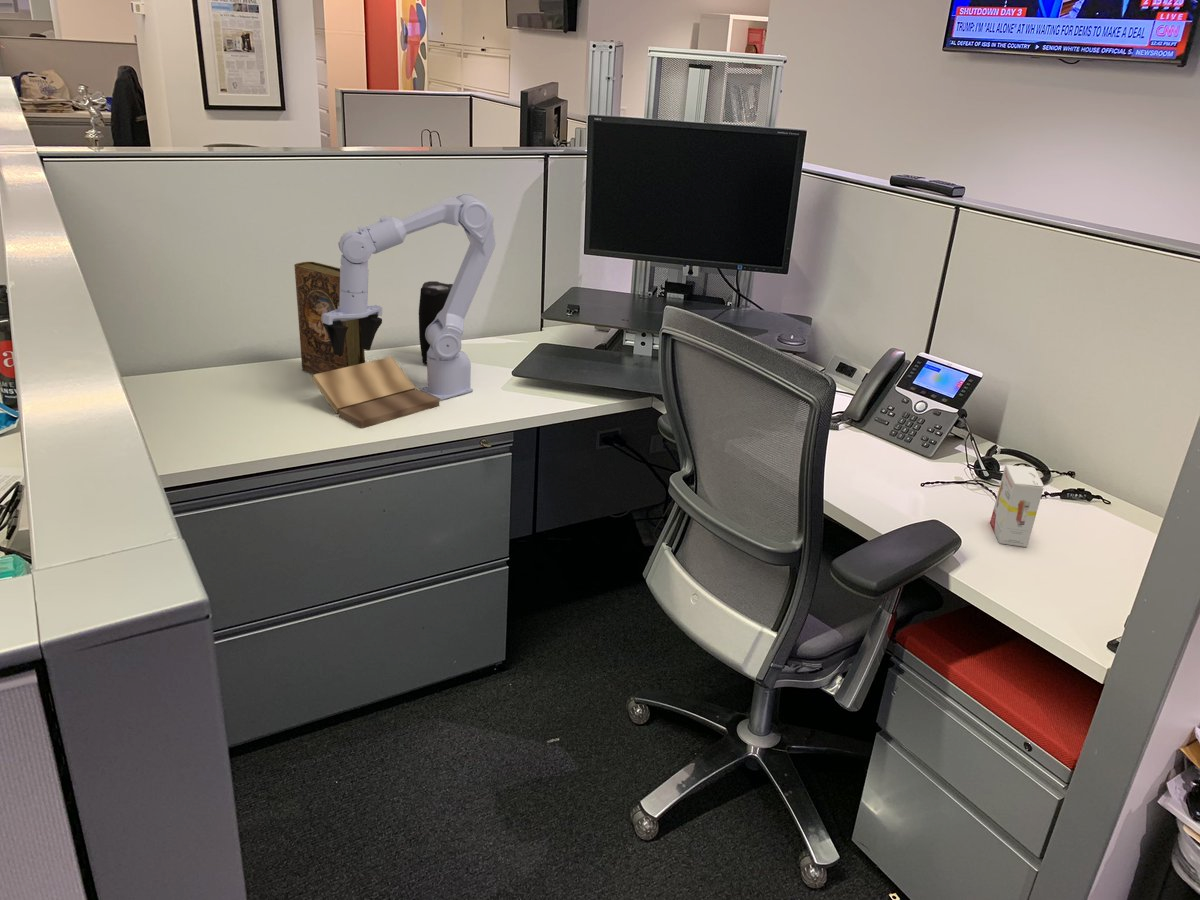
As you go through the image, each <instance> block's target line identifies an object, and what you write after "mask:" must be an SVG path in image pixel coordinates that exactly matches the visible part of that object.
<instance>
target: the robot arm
mask: <svg viewBox="0 0 1200 900" xmlns="http://www.w3.org/2000/svg"><path fill="white" fill-rule="evenodd" d="M440 224H448V225H452V226H456V227H459V225H460V226H461V227H462V228H463V230H464V233H465V235H466V238H467V239H468V241H469V246H468V248H467V250H466V253H465V255H464V257H463V259H462V262H461V264H460V267H459V269H458V271H457V273H456V277H455V279H454V281H453V283H452V284H453V286H452V288H451V291H450V293H449V295H448V298H447V300H446V302H445V305H444V307H443V309H442V310H441V311H440V312H439V313H438V314H437V316H436V318H435V320H434V321H433V322H432V323H431V324H430V325H429V326H428V327H427V329H426V332H425V337H426V340H427V342H428V343H429V344H430V348H429V350H428V351H427V362H426V370H427V372H426V373H427V375H426V376H427V379H426V380H427V382H426V383H427V386H424V387H420V388H419V389H418V390H420V391H422V392H425V393H427V394H429V395H431V396H434V397H436V398H438V399H439V401H441V400H442V401H444V400H447V399H450V398H451V399H452V398H454V397H457V396H460V395H463V394H469V393H471V392H473V391H474V389H473V388H471V384H472V383H471V381H472V379H471V374H472V373H471V372H472V371H471V360H470V358H469V356H468V354H467V353H466V352H465V351H463V350H461V349H462V337H463V334H464V332H465V331H464V330H465V328H464V327H465V326H464V325H465V318H466V316H467V314H468V311H469V309H470V307H471V305H472V302H473V300H474V297H475V295H476V292H477V291H478V288H479V285H480V282H481V281H482V279H483V276H484V274H485V272H486V268H487V267H488V264H489V262H490V260H491V257H492V254H493V252H494V250H495V247H496V238H495V230H494V216H493V215H492V213H491V210H490V209H489V207H488V206H487V204H486V203H485V202H483V201H481V200H479V199H477V197H476V196H475V195H473V194H471V193H466V192H465V193H461V194H458V195H457V196H456V197H455V196H451V197H448V198H445V199H443V200H441V201H439V202H437V203H434V204H433V205H430V206H427V207H426V208H423V209H421V210H419V211H417V212H414V213H412V214H410V215H408V216H405V217H403V218H401V219H399V218H396V217H394V216H388V217H386V215H384V216H380V217H379V221H377V222H374V223H371V224H369V225H366V226H363V225H360V226H358V227H357V229H358V230H354V229H352V230H351V229H350V230H348V231H347V230H346V231H345V232H344V233H343V234H342V236H340V238H339V241H338V244H337V245H338V248H339V250H340V252H341V253H342V254H341V255H340V256H341V257H340V267H339V268H340V302H339V306H338V309H336V310H333V311H331V312H328V313H324V314H323V326H324V327H325V329H326V331H327V333H328V335H329V337H330V340H331V344H332V347H333V352H334V354H335V355H338V356H343V352H344V340H345V335H346V332H347V329H348V327H346V326H344V325H343V323H341V322H342V321H348V320H353V319H359V324H360V330H361V347H362V348H363V349H364V350H366V351H370V350H371V348H372V345H373V342H374V339H375V336H376V333H377V332H378V330H379V328H380V327H381V325H382V324H383V318H381V317H382V316H383V307H382V306H379V305H377V304H375V305H368V302H369V301H368V300H369V299H368V298H369V297H368V296H369V268H368V267H369V266H368V265H369V259H370V258H371V257H372V255H373V254H374V255H375V254H378V253H381V252H383V251H387V250H388V249H390V248H393V247H397V246H398V245H401V244H403V243H404V242H405V239H406V237H407V236H408V235H410V234H413V233H416V232H418V231H421V230H424V229H427V228H429V227H430V228H431V227H434V226H436V225H440Z"/></svg>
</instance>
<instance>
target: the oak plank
mask: <svg viewBox="0 0 1200 900" xmlns="http://www.w3.org/2000/svg"><path fill="white" fill-rule="evenodd" d="M312 375H313V376H312V379H311V380H312V382H313V383H314V384H315V387H316V388H317V389H318V390H319V392H321V394H322V395H323V397H324V398H325V399H326V401H327V402H328V404H329V405H330V407H331V408H332V409H333V411H334V412H335V414H339V410H340V409H344V408H347V407H351V406H355V405H359V404H362V403H366V402H370V401H374V400H377V399H381V398H385V397H389V396H392V395H396V394H400V393H403V392H407V391H411V390H415V389H417V388H416V386H415V385H414V384H413V382H412V381H411V380H410V378H409V377H408V376H407V375H406V373H405V372H404V371H403V369H402V368H401V367H400V365H399V364H398V363H397V361H396V360H395V359H394V357H393V356H387V357H383V358H380V359H376V360H372V361H365V363H362V364H357V365H353V366H349V367H345V368H340V369H336V370H332V371H327V372H323V373H319V374H312Z"/></svg>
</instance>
